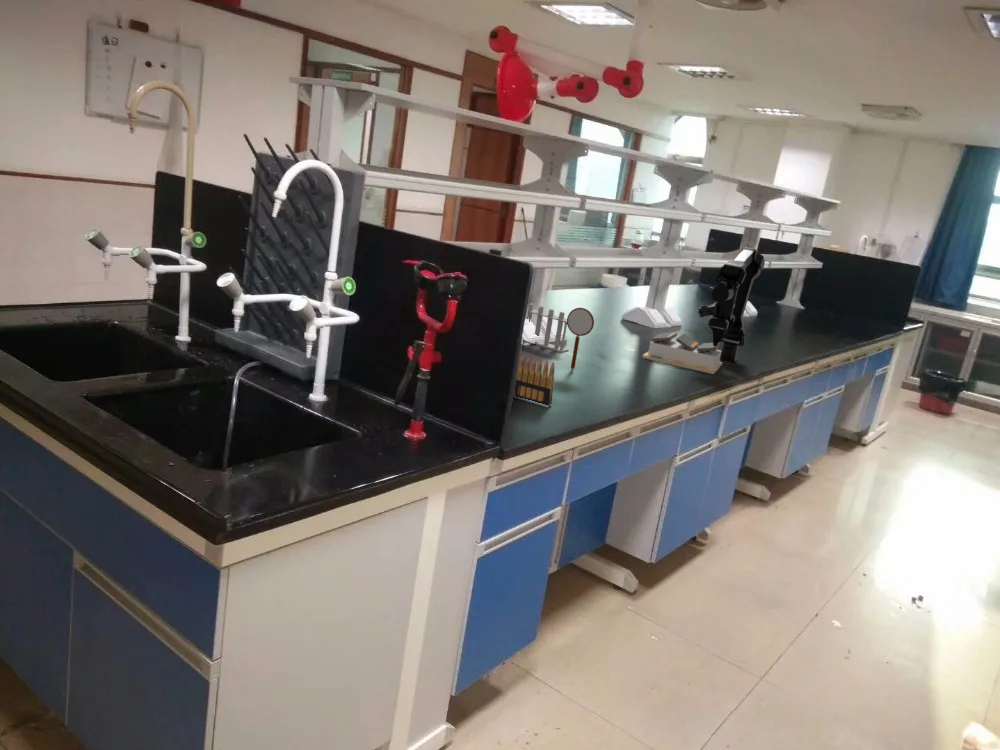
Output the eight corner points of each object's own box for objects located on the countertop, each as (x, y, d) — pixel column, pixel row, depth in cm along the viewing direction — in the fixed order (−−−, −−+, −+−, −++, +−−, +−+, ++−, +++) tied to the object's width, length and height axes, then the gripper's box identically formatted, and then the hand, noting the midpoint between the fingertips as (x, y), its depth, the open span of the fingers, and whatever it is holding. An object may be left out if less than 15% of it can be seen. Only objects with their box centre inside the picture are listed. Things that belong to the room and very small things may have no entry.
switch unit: (654, 349, 278) (657, 334, 276) (722, 364, 269) (725, 348, 267) (642, 357, 262) (645, 341, 260) (713, 374, 253) (717, 357, 251)
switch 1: (659, 336, 274) (659, 333, 274) (677, 335, 271) (677, 332, 271) (651, 341, 264) (651, 337, 263) (670, 340, 261) (669, 337, 261)
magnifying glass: (586, 373, 230) (596, 310, 225) (584, 374, 229) (595, 311, 223) (560, 367, 234) (570, 304, 228) (558, 368, 232) (568, 305, 227)
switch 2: (703, 345, 268) (703, 342, 268) (721, 345, 265) (721, 341, 265) (696, 351, 258) (696, 347, 257) (715, 350, 255) (715, 347, 255)
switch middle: (682, 335, 271) (684, 333, 270) (697, 345, 269) (699, 343, 269) (675, 340, 260) (677, 337, 259) (691, 351, 258) (693, 348, 258)
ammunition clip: (511, 397, 196) (517, 353, 193) (514, 396, 198) (521, 352, 194) (548, 408, 192) (555, 363, 188) (551, 406, 193) (558, 362, 190)
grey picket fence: (504, 335, 267) (509, 299, 264) (511, 334, 271) (517, 298, 267) (561, 353, 253) (567, 315, 249) (568, 351, 256) (574, 314, 253)
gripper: (707, 293, 267) (698, 335, 271) (698, 298, 251) (688, 343, 255) (739, 299, 263) (729, 341, 267) (731, 305, 247) (721, 350, 251)
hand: (716, 344), depth 260 cm, fingers open, 9 cm apart
